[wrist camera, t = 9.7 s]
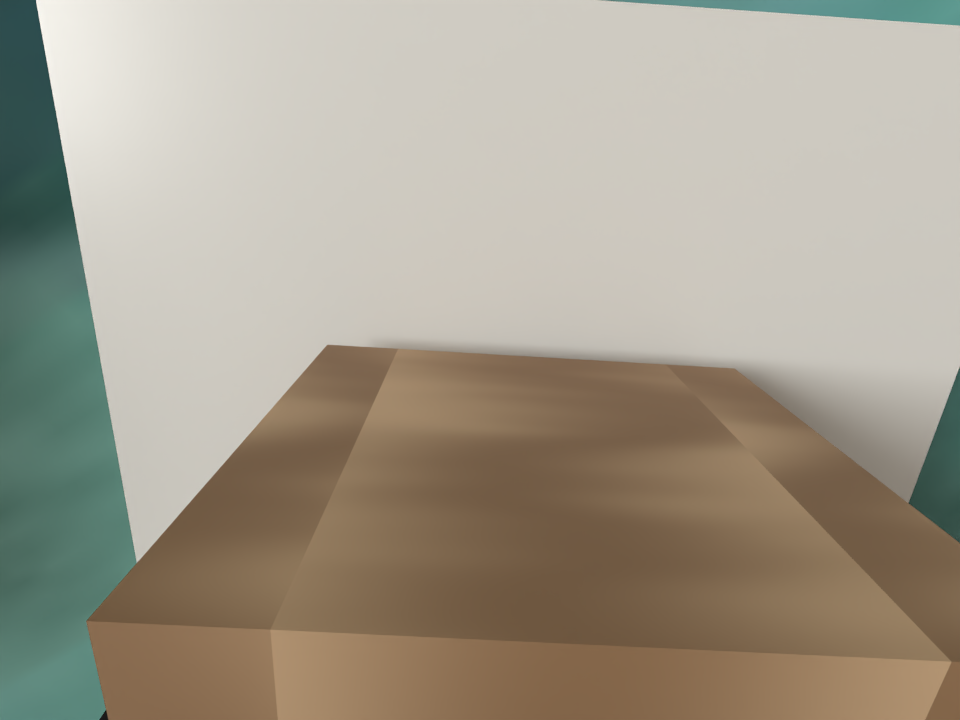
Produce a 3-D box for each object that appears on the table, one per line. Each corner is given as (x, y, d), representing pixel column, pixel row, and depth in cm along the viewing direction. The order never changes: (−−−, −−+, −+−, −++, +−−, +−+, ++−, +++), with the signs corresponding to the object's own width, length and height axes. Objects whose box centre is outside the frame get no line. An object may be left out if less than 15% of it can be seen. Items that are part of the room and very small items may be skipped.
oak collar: (734, 368, 9) (1124, 669, 4) (664, 673, 12) (838, 1147, 6) (327, 344, 9) (87, 621, 4) (337, 659, 12) (200, 1129, 6)
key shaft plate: (763, 757, 16) (996, 1239, 9) (205, 731, 15) (-30, 1209, 8) (996, 54, 10) (2351, -251, 3) (96, -9, 9) (-1039, -535, 2)
